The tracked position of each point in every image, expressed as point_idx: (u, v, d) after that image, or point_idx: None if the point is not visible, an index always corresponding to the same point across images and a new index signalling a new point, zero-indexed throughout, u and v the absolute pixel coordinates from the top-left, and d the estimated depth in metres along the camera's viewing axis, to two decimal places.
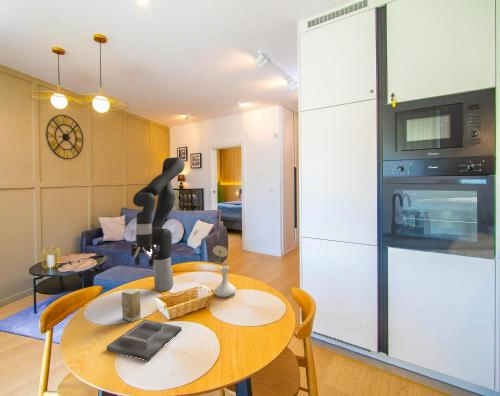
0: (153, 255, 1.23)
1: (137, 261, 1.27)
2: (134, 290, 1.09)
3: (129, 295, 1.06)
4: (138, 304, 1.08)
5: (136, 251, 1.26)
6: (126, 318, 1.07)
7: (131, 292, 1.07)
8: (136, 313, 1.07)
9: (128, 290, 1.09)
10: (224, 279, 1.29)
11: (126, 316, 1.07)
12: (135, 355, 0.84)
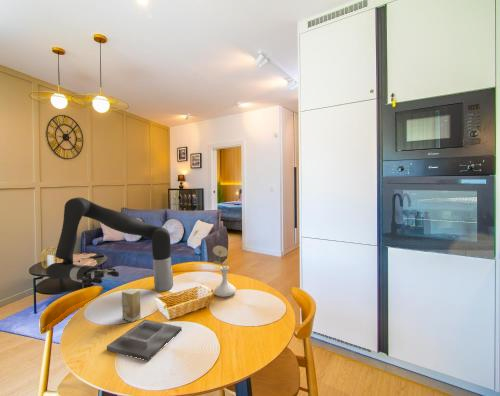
0: None
1: (114, 274, 1.16)
2: (134, 290, 1.09)
3: (129, 295, 1.06)
4: (138, 304, 1.08)
5: None
6: (126, 318, 1.07)
7: (131, 292, 1.07)
8: (136, 313, 1.07)
9: (128, 290, 1.09)
10: (224, 279, 1.29)
11: (126, 316, 1.07)
12: (135, 355, 0.84)
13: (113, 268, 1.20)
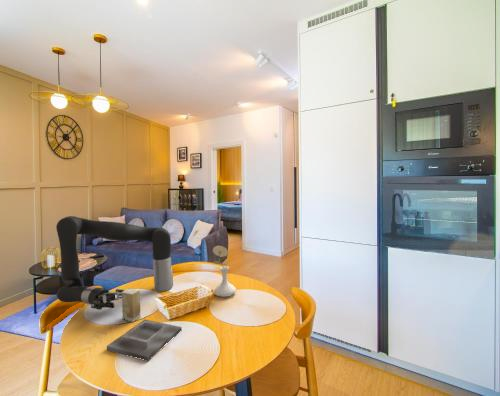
0: None
1: None
2: (134, 290, 1.09)
3: (129, 295, 1.06)
4: (138, 304, 1.08)
5: None
6: (126, 318, 1.07)
7: (131, 292, 1.07)
8: (136, 313, 1.07)
9: (128, 290, 1.09)
10: (224, 279, 1.29)
11: (126, 316, 1.07)
12: (135, 355, 0.84)
13: (124, 290, 1.19)
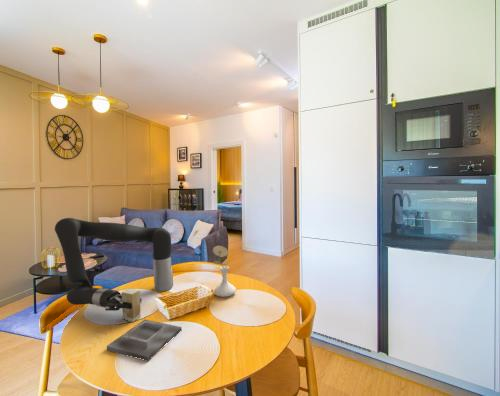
0: None
1: None
2: (134, 290, 1.08)
3: (129, 295, 1.06)
4: (138, 304, 1.08)
5: None
6: (126, 318, 1.07)
7: (131, 292, 1.07)
8: (136, 313, 1.07)
9: (128, 290, 1.08)
10: (224, 279, 1.29)
11: (126, 316, 1.07)
12: (135, 355, 0.84)
13: None
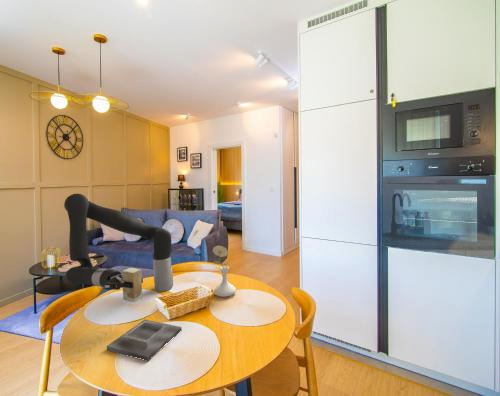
0: None
1: None
2: (135, 269, 1.03)
3: (130, 274, 1.00)
4: (139, 284, 1.03)
5: None
6: (127, 298, 1.02)
7: (132, 271, 1.01)
8: (137, 293, 1.02)
9: (129, 269, 1.03)
10: (224, 279, 1.29)
11: (127, 296, 1.01)
12: (135, 355, 0.84)
13: None
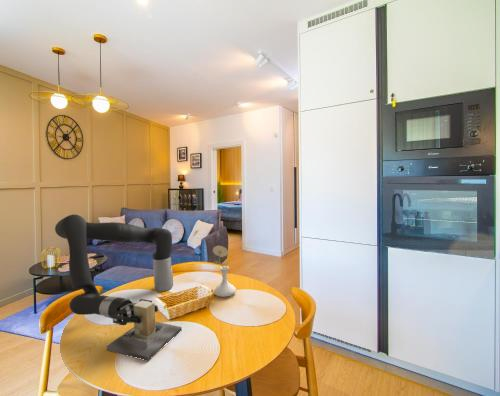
0: None
1: None
2: (148, 303, 0.93)
3: (143, 309, 0.90)
4: (153, 319, 0.93)
5: None
6: (139, 336, 0.92)
7: (145, 305, 0.91)
8: (151, 330, 0.92)
9: (141, 303, 0.93)
10: (224, 279, 1.29)
11: (139, 334, 0.91)
12: (135, 355, 0.84)
13: (149, 300, 1.01)
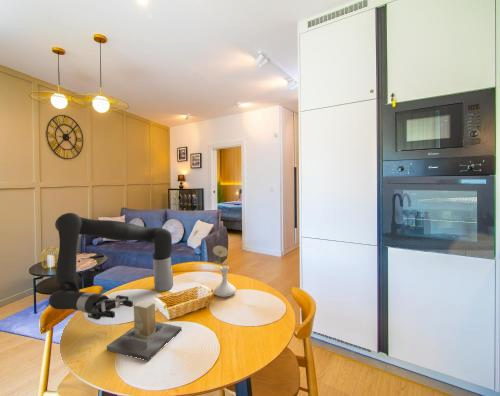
0: None
1: (128, 304, 1.01)
2: (148, 303, 0.93)
3: (143, 309, 0.90)
4: (153, 319, 0.93)
5: None
6: (139, 336, 0.92)
7: (145, 305, 0.91)
8: (151, 330, 0.92)
9: (141, 303, 0.93)
10: (224, 279, 1.29)
11: (140, 334, 0.91)
12: (135, 355, 0.84)
13: (126, 296, 1.05)
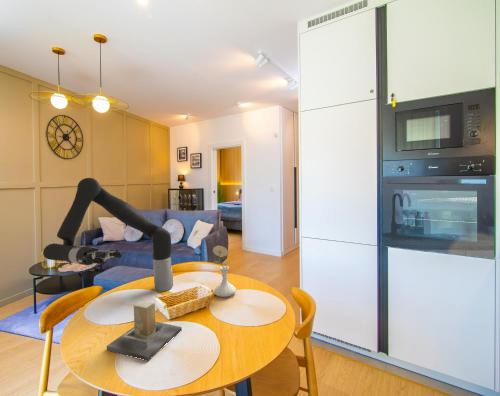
0: (86, 264, 0.98)
1: (117, 255, 1.07)
2: (148, 303, 0.93)
3: (143, 309, 0.90)
4: (153, 319, 0.93)
5: None
6: (139, 336, 0.92)
7: (145, 305, 0.91)
8: (151, 330, 0.92)
9: (141, 303, 0.93)
10: (224, 279, 1.29)
11: (140, 334, 0.91)
12: (135, 355, 0.84)
13: None
